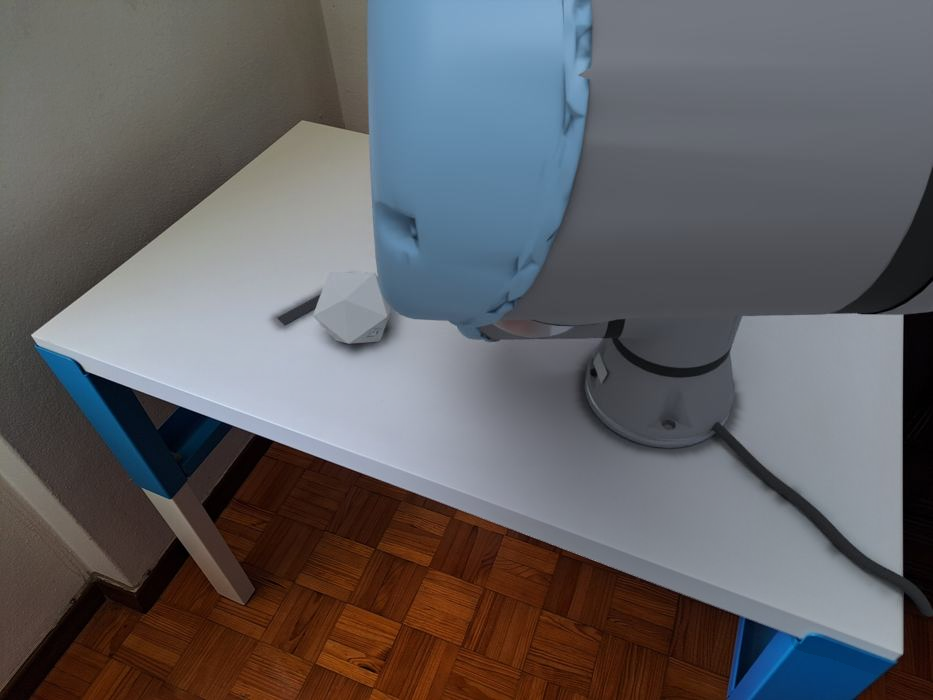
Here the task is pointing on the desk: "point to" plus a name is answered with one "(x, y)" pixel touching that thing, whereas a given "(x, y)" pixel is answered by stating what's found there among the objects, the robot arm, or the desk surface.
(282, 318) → the tape line
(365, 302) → the die
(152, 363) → the desk surface
